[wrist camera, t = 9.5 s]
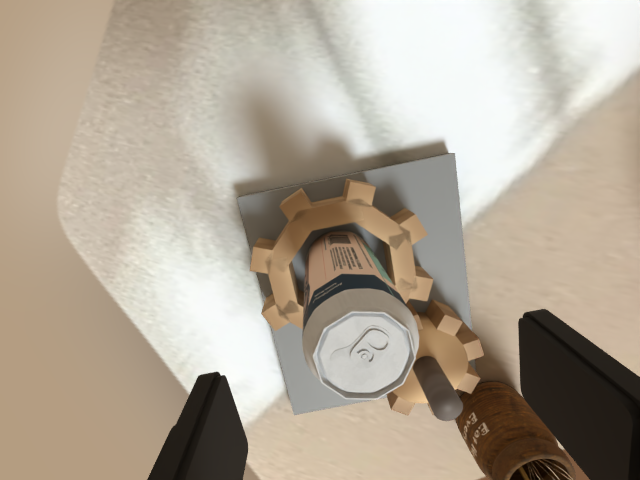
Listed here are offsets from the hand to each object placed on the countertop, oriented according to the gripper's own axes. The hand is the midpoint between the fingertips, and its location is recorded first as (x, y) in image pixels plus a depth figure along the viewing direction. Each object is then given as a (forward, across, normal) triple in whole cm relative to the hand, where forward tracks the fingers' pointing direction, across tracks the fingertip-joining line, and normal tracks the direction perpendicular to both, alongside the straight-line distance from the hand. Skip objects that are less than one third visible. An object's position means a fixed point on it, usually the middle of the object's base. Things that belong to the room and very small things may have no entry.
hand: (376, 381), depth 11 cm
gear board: (+15, -1, +4) cm, 16 cm away
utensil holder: (+15, -10, +17) cm, 25 cm away
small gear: (+14, -4, +9) cm, 17 cm away
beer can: (+14, 0, +1) cm, 14 cm away
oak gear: (+14, 0, +1) cm, 14 cm away
